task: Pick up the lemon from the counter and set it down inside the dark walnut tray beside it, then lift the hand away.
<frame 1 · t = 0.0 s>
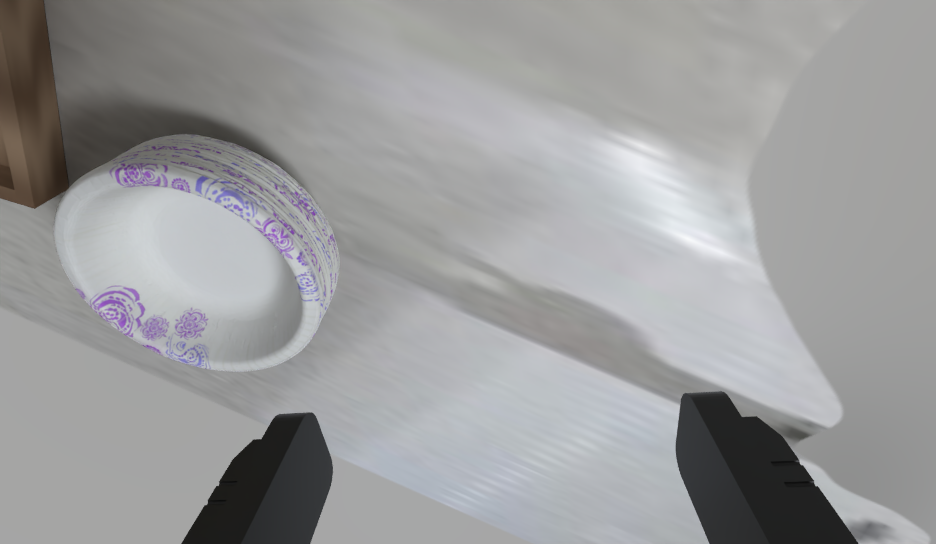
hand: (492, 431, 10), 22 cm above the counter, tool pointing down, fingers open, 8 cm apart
paper bowls: (248, 220, 34), on the counter
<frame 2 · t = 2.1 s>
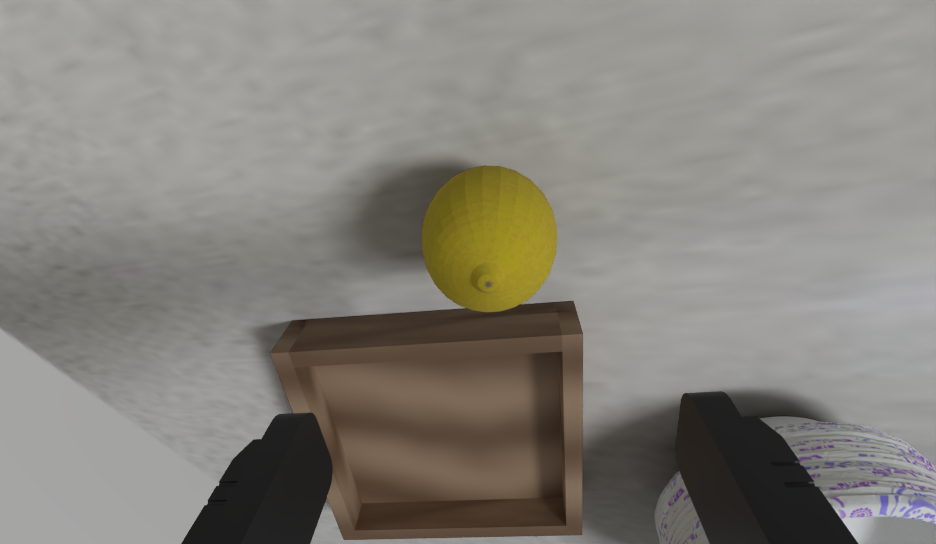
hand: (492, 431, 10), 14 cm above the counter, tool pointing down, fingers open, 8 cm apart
paper bowls: (757, 464, 31), on the counter
lemon: (490, 201, 23), on the counter
walnut tray: (447, 415, 29), on the counter
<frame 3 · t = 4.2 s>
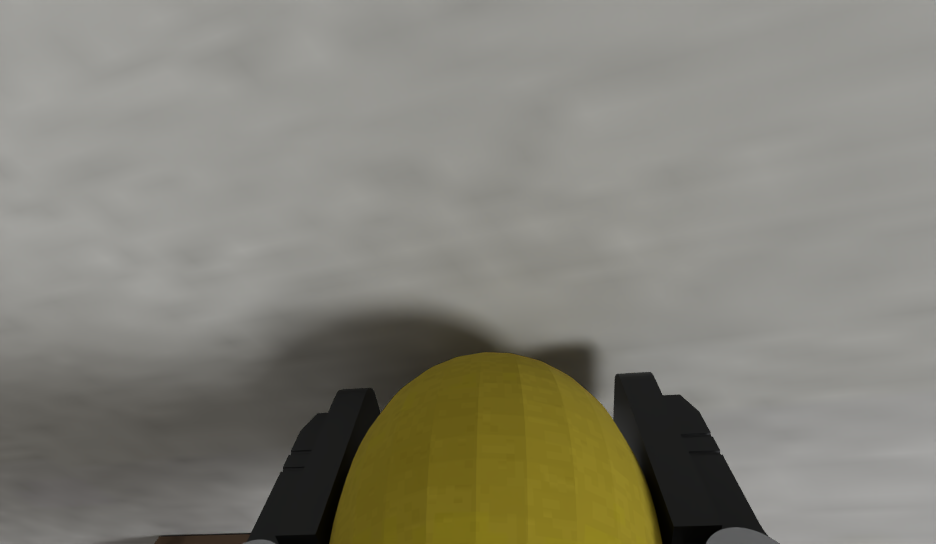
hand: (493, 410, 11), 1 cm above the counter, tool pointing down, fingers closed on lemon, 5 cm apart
lemon: (494, 373, 12), on the counter, touching gripper
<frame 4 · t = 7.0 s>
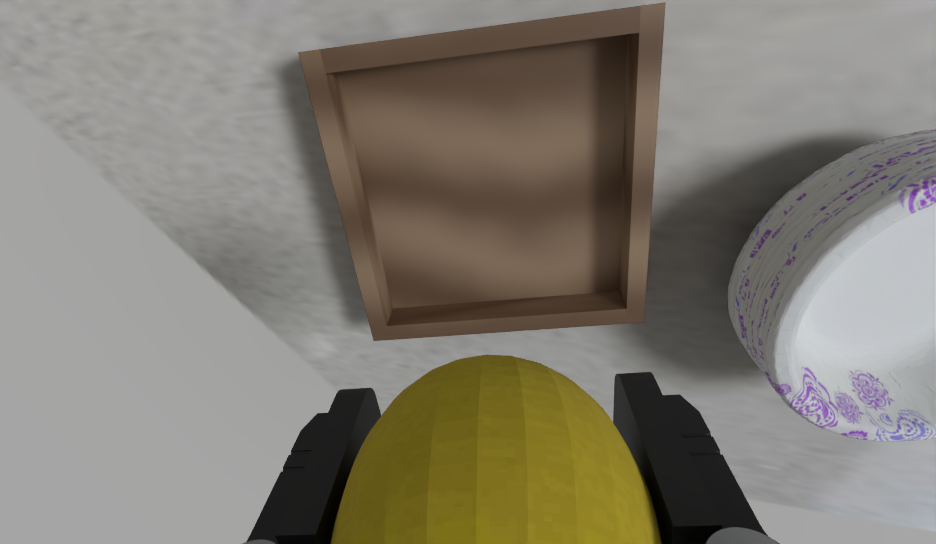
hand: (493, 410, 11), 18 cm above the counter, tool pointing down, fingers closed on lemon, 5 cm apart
paper bowls: (838, 248, 27), on the counter
lemon: (494, 375, 12), point 16 cm above the counter, touching gripper
walnut tray: (492, 186, 26), on the counter
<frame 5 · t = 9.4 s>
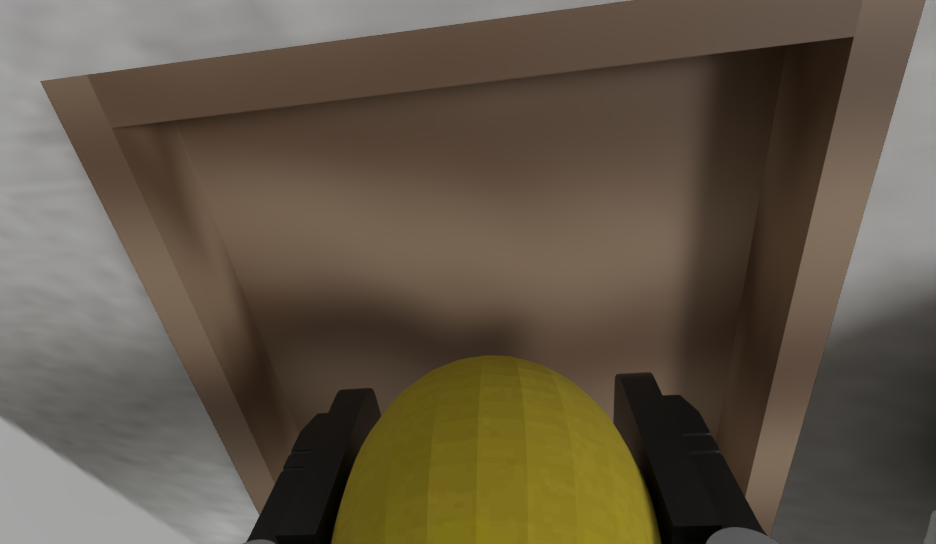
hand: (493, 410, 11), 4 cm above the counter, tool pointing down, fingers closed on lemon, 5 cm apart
lemon: (494, 375, 12), point 3 cm above the counter, touching gripper
walnut tray: (490, 313, 14), on the counter
when the fingers open (4 cm above the counter, at t = 10.1 s): lemon drops 1 cm, resting on walnut tray.
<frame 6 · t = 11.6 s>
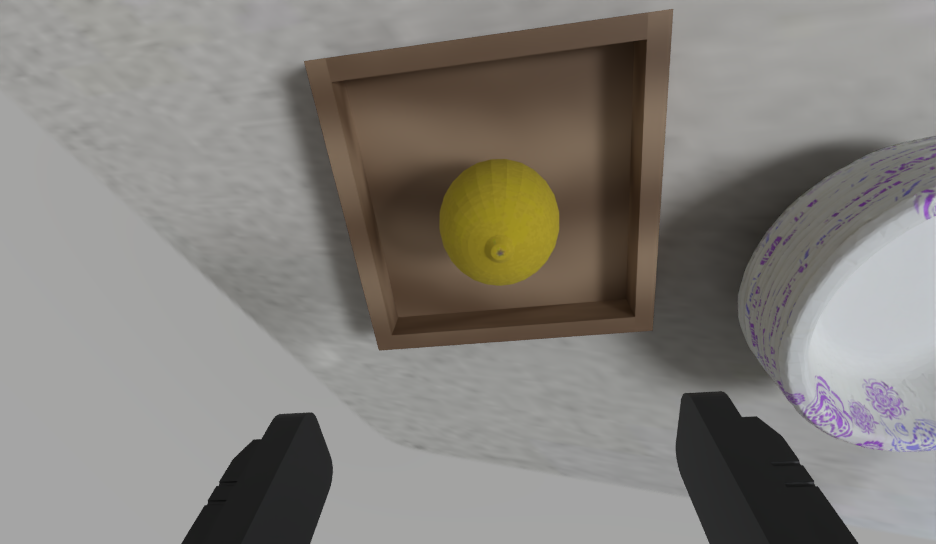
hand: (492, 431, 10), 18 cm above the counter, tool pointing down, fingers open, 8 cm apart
paper bowls: (849, 255, 27), on the counter
lemon: (498, 197, 25), point 1 cm above the counter, touching walnut tray
walnut tray: (498, 193, 26), on the counter
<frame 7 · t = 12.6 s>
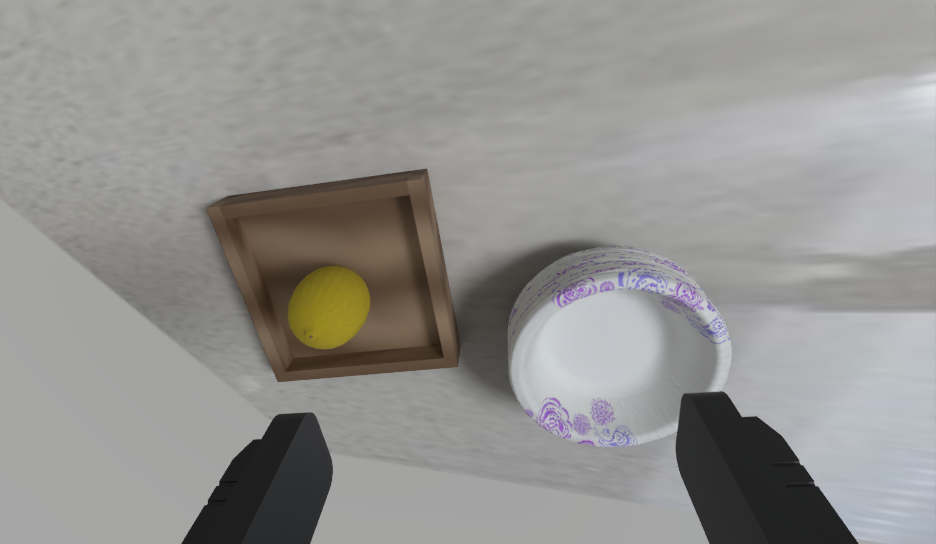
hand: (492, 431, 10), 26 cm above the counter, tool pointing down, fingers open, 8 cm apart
paper bowls: (596, 312, 39), on the counter
lemon: (348, 279, 38), point 1 cm above the counter, touching walnut tray
walnut tray: (351, 275, 39), on the counter
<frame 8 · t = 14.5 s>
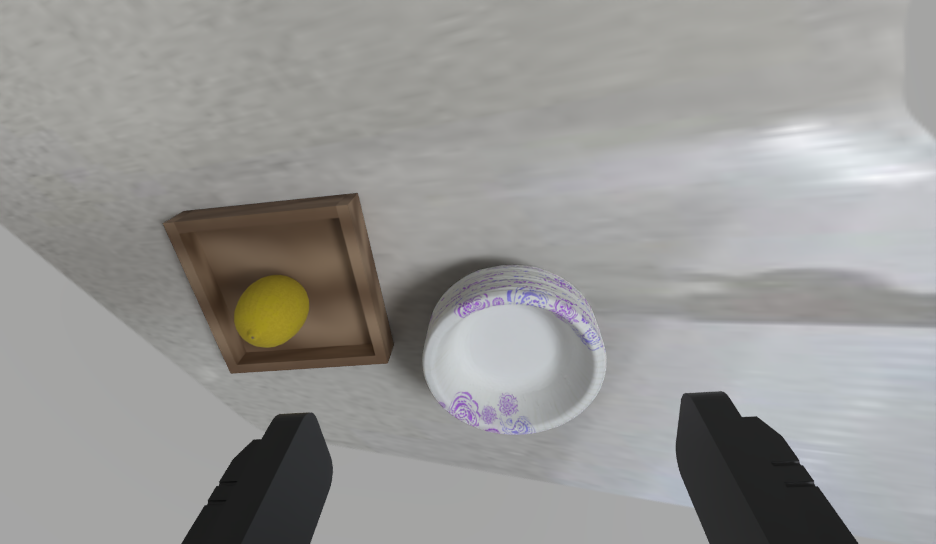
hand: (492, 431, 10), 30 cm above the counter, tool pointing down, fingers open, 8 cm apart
paper bowls: (510, 317, 45), on the counter
lemon: (292, 285, 43), point 1 cm above the counter, touching walnut tray
walnut tray: (295, 282, 44), on the counter
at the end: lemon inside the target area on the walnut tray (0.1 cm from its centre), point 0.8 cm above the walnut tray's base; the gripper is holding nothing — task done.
